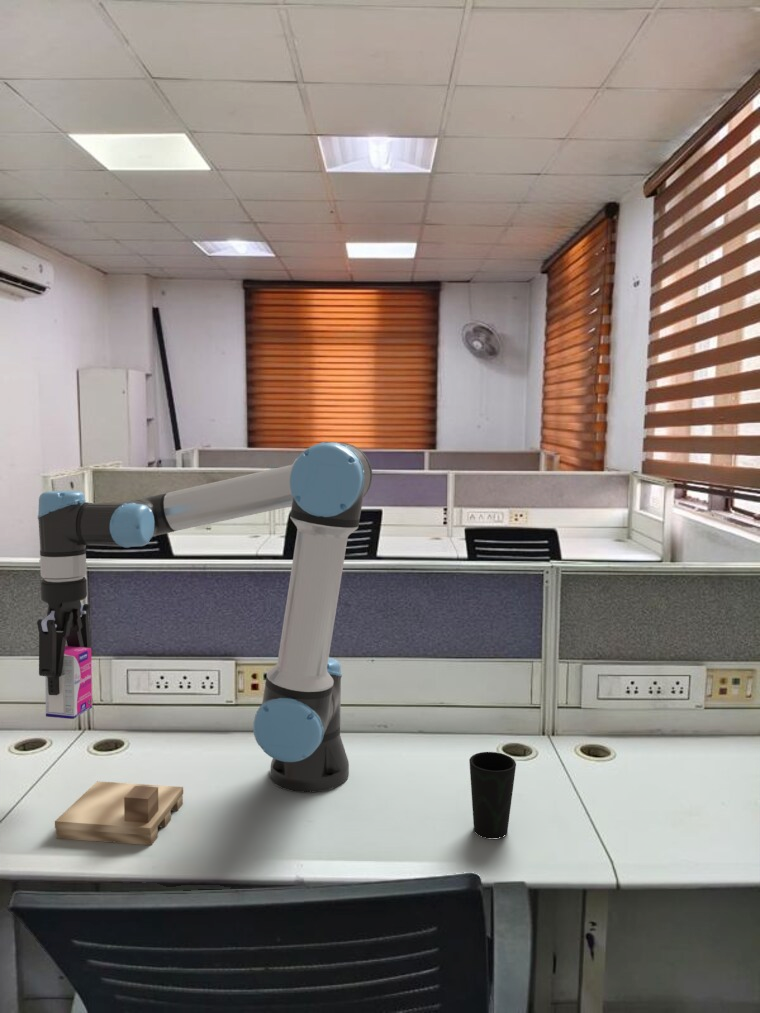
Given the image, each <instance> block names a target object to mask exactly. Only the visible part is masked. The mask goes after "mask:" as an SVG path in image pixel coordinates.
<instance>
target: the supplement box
mask: <svg viewBox="0 0 760 1013" xmlns="http://www.w3.org/2000/svg"><path fill="white" fill-rule="evenodd" d="M92 669H93V668H92V648H84V647H72V646H68V645H65V652H64V659H63V667H62V674H61V675H65V701H66V711H65V712H49V699H48V678H47V676H44V677H45V680H44V681H45V682H44V683H45V717H47V718H57V719H59V718H60V719H67V720H69V719H70V720H74V719H76V718H77V717H79V716H80V715H82V714H83V713H86V712H87V711H88V710H90V709H92V705H93V698H92V696H93V691H92V690H93V688H92V687H93V686H92V684H93V682H92Z"/></svg>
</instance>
